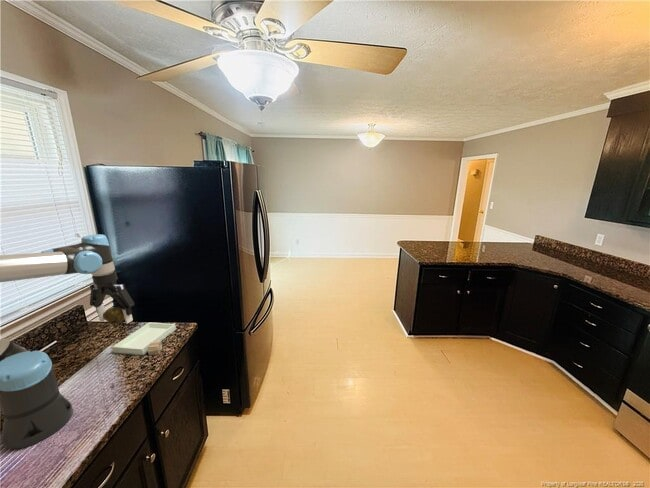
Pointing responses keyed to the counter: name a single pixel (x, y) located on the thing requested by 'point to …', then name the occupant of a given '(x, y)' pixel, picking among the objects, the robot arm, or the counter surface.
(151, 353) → the beech block
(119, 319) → the potato
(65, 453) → the counter surface
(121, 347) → the tray
